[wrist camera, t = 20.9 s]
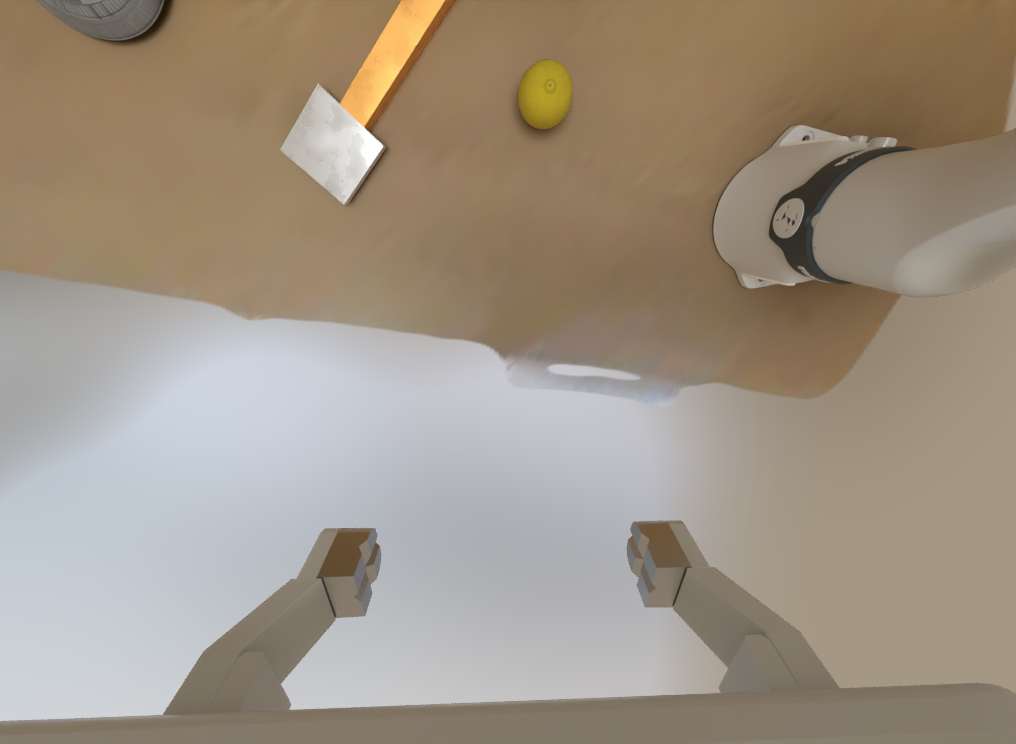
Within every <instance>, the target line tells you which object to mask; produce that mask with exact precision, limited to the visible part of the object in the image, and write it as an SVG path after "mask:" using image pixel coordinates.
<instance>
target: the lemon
mask: <svg viewBox="0 0 1016 744" xmlns="http://www.w3.org/2000/svg"><path fill="white" fill-rule="evenodd" d="M572 97H573V86H572V81H571V77H570V75H569V73H568V71H567V70H566V68H565V67H564V66H563V65H562V64H560V63H559V62H557V61H554V60H550V59H545V60H541V61H538V62H536V63H535V64H533V65H532V66H531V67H530V68H529V69H528V70H527V71H526V72H525V74H524V76H523V78H522V80H521V82H520V86H519V90H518V104H519V109H520V111H521V114H522V116H523V118H524V119H525V121H526V122H527V123H528V124H530V125H531V126H533V127H535V128H537V129H550V128H552V127H554V126H556V125H557V124H558V123H560V122H561V121H562V120H563V119H564V117H565V116H566V115H567V113H568V110H569V108H570V106H571V102H572Z"/></svg>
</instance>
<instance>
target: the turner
mask: <svg viewBox="0 0 1016 744" xmlns="http://www.w3.org/2000/svg"><path fill="white" fill-rule="evenodd" d="M454 2H455V0H402V1H401V2H400V4H399V6H398V7H397V9H396V11H395V12H394V14H393V16H392V17H391V19H390V21H389V22H388V24H387V26H386V27H385V29H384V31H383V32H382V34H381V36H380V37H379V39H378V41H377V42H376V44H375V46H374V47H373V49H372V51H371V52H370V54H369V56H368V57H367V59H366V61H365V62H364V64H363V66H362V67H361V69H360V71H359V72H358V74H357V76H356V77H355V79H354V81H353V82H352V84H351V86H350V87H349V89H348V91H347V92H346V94H345V96H344V97H343V99H342V101H341V102H340V103H339V102H338V101H337V100H336V99H335V98H334V97H333V96H332V95H331V94H330V93H329V92H328V91H327V90H326V89H325V88H324V87H323V86H321V85H319V84H317V86H316V88H315V90H314V91H313V93H312V95H311V97H310V99H309V100H308V102H307V104H306V106H305V107H304V109H303V111H302V113H301V114H300V116H299V118H298V120H297V121H296V123H295V125H294V127H293V128H292V130H291V132H290V134H289V135H288V137H287V139H286V141H285V142H284V144H283V146H282V148H281V149H280V150H281V151H282V152H283V153H284V154H286V155H287V156H288V157H289V158H290V159H291V160H293V161H294V162H295V163H296V164H297V165H298V166H300V167H301V168H302V169H303V170H304V171H305V172H307V173H308V174H309V175H310V176H311V177H312V178H314V179H315V180H316V181H317V182H318V183H319V184H321V185H322V186H323V187H324V188H325V189H326V190H328V191H329V192H330V193H331V194H332V195H333V196H335V197H336V198H337V199H338V200H339V201H340V202H342V203H343V204H344V205H348V204H349V202H350V201H351V199H352V198H353V196H354V195H355V193H356V192H357V190H358V189H359V187H360V186H361V185H362V183H363V182H364V180H365V179H366V177H367V176H368V174H369V173H370V171H371V170H372V168H373V167H374V165H375V164H376V162H377V161H378V159H379V158H380V156H381V155H382V153H383V152H384V150H385V149H386V147H385V146H384V145H383V144H382V143H381V142H380V141H379V140H378V139H377V138H376V137H375V136H374V135H373V134H372V133H371V132H370V131H371V130H372V128H373V127H374V125H375V124H376V122H377V121H378V119H379V117H380V116H381V114H382V113H383V111H384V110H385V108H386V107H387V105H388V104H389V102H390V100H391V99H392V97H393V96H394V94H395V93H396V91H397V90H398V88H399V87H400V85H401V83H402V82H403V80H404V79H405V77H406V76H407V74H408V73H409V71H410V70H411V68H412V66H413V65H414V63H415V62H416V60H417V59H418V57H419V56H420V54H421V53H422V51H423V49H424V48H425V46H426V45H427V43H428V42H429V40H430V39H431V37H432V36H433V34H434V32H435V31H436V29H437V28H438V26H439V25H440V23H441V22H442V20H443V19H444V17H445V15H446V14H447V12H448V11H449V9H450V8H451V6H452V5H453V3H454ZM369 130H370V131H369Z"/></svg>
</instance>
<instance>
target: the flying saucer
mask: <svg viewBox="0 0 1016 744" xmlns="http://www.w3.org/2000/svg"><path fill="white" fill-rule="evenodd" d="M37 1H38V2H39V3H40V4H41V5H43V6H44V7H45V8H46V9H47V10H48V11H49V12H51V13H52V14H53V15H54V16H56V17H57V18H59V19H60V20H61V21H63V22H64V23H66V24H68V25H69V26H71V27H73V28H74V29H76V30H78V31H80V32H83V33H85V34H87V35H90V36H93V37H96V38H100V39H105V40H116V41H117V40H127V39H131V38H134V37H136V36H139V35H140V34H142V33H144V32H145V31H146V30H148V29H149V28H150V27H151V26H152V25H153V23H154V22H155V21H156V19H157V17H158V16H159V14H160V12H161V9H162V7H163V4H164V0H37Z"/></svg>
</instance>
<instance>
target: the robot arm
mask: <svg viewBox="0 0 1016 744" xmlns="http://www.w3.org/2000/svg"><path fill="white" fill-rule="evenodd" d="M803 137H805V141H802V139H803ZM867 139H868V137H867V136H862V135H856V136H852V137H851V138H848V137H846V136H840V135H837V134H833V133H830V132H826V131H822V130H819V129H815V128H812V127H808V126H805V125H796V126H792V127H790V128H788V129H787V130H786V131H785V132H784V133H783V134H782V135H781V136H780V137H779V139H778V140H777V141H776V142H775V143H774V145H773V146H772V147H771V148H770V149H769V150H768V151H766V152H765V153H764V154H762V155H761V156H759V157H757V158H756V159H754V160H753V161H751V162H750V163H749V164H747V165H746V166H745V167H744V168H743V169H742V170H741V171H740V172H739V173H738V174H737V175H736V176H735V177H734V178H733V180H732V181H731V182H730V184H729V185H728V186H727V188H726V190H725V191H724V193H723V195H722V197H721V199H720V201H719V204H718V207H717V210H716V213H715V218H714V226H713V233H714V241H715V245H716V248H717V250H718V252H719V254H720V255H721V257H722V258H723V259H724V260H725V261H726V262H727V263H728V264H729V265H730V266H731V267H732V268H733V269H734V270H735V271H736V274H737V277H738V280H739V282H740V284H741V285H742V286H743V287H745V288H749V289H753V288H758V287H764V286H769V285H774V284H782V285H787V286H794V285H795V284H796V283H801V282H806V281H810V280H814V279H815V280H817V281H822V282H826V283H838V284H852V283H855V284H860V285H864V286H868V287H872V288H876V289H880V290H884V291H888V292H892V293H896V294H901V295H905V296H909V297H938V296H946V295H951V294H957V293H961V292H964V291H968V290H971V289H974V288H977V287H979V286H982V285H984V284H986V283H989V282H991V281H993V280H995V279H996V278H998V277H1000V276H1001V275H1003V274H1005V273H1007V272H1008V271H1010V270H1011V269H1012V268H1014V267H1016V129H1013V130H1011V131H1008V132H1005V133H1002V134H999V135H996V136H992V137H988V138H983V139H978V140H973V141H968V142H963V143H957V144H951V145H946V146H940V147H933V148H926V149H919V150H918V149H915V148H911V147H903V146H902V147H895V145H896V143H897V139H895V138H889V137H877V138H872V139H871V140H870V141H869V142H868V143H866V141H867ZM758 279H760V280H758ZM630 530H631V533H632V535H633V536H632V537H631V538H629V540H628V543H627V556H628V561H629V565H630V567H631V570H632V572H633V573H634V574H635V575H637V577H639V579H638V583H637V587H638V589H639V592H640V595H641V598H642V600H643V603H644V606H645V607H673V609H674V610H675V612H676V613H678V615H679V616H680V617H681V618H682V619H683V620H684V621H685V622H686V623H687V624H688V625H689V627H690V628H691V629H692V630H693V631H694V632H695V633H696V634H697V635H698V636H699V637H700V638H701V639H702V640H703V641H704V643H705V644H706V645H707V646H708V647H709V648H710V649H711V650H712V651H713V652H714V653H715V654H716V656H718V658H719V659H720V660H721V661H722V662H723V663H724V664H725V665H726V666H727V667H728V670H727V672H726V674H725V676H724V678H723V680H722V682H721V684H720V686H719V689H720V692H721V693H714V694H687V695H661V696H635V697H611V698H585V699H559V700H532V701H509V702H507V701H506V702H481V703H455V704H431V705H406V706H382V707H381V706H379V707H355V708H329V709H304V710H289V709H290V706H291V703H290V700H289V698H288V696H287V695H286V693H285V691H284V689H283V687H282V686H281V683H282V682H283V681H284V679H285V678H286V677H287V676H288V675H289V674H290V672H291V671H292V670H293V669H294V668H295V667H296V665H297V664H298V663H299V662H300V661H301V660H302V658H303V657H304V656H305V655H306V654H307V653H308V651H309V650H310V649H311V648H312V647H313V646H314V644H315V643H316V642H317V641H318V640H319V638H320V637H321V636H322V635H323V634H324V633H325V632H326V630H327V629H328V628H329V627H330V626H331V625H332V623H333V622H334V621H335V618H341V617H358V616H365V615H366V612H367V608H368V605H369V602H370V599H371V596H372V590H371V586H370V585H371V584H372V583H373V582H374V581H375V580H376V579H377V576H378V572H379V569H380V562H381V550H380V546H379V545H378V544H377V543H376V539H377V533H376V529H374V528H332V529H331V528H328V529H324V530H323V531H322V532H321V533H320V535H319V537H318V539H317V541H316V543H315V545H314V547H313V548H312V550H311V552H310V554H309V556H308V558H307V560H306V562H305V564H304V566H303V568H302V570H301V572H300V573H299V575H298V577H297V579H291V580H290V581H289V582H287V583H286V584H285V585H284V586H283V587H281V588H280V589H279V590H278V591H276V592H275V593H274V594H273V595H272V596H270V597H269V598H268V599H267V600H266V601H264V602H263V603H262V604H261V605H259V606H258V607H257V608H256V609H255V610H253V611H252V612H251V613H250V614H248V615H247V616H246V617H245V618H244V619H242V620H241V621H240V622H239V623H238V624H236V625H235V626H234V627H233V628H231V629H230V630H229V631H228V632H227V633H225V634H224V635H223V636H222V637H220V638H219V639H218V640H217V641H216V642H215V643H213V644H212V645H211V646H210V647H208V648H207V649H206V650H205V651H204V652H203V653H202V655H201V656H200V658H199V659H198V661H197V662H196V664H195V666H194V667H193V669H192V670H191V672H190V673H189V675H188V676H187V678H186V679H185V681H184V683H183V684H182V686H181V687H180V689H179V690H178V692H177V693H176V695H175V697H174V698H173V700H172V701H171V703H170V704H169V706H168V707H167V709H166V711H165V712H164V714H163V715H154V716H153V715H152V716H130V717H129V716H127V717H102V718H76V719H49V720H19V721H0V744H1016V694H1015V693H1014V692H1012V691H1010V690H1008V689H1005V688H1003V687H1000V686H997V685H993V684H985V683H964V684H940V685H915V686H889V687H864V688H839V687H838V685H837V684H836V682H835V681H834V679H833V678H832V677H831V675H830V674H829V672H828V671H827V670H826V668H825V667H824V665H823V664H822V662H821V661H820V660H819V658H818V657H817V655H816V654H815V652H814V651H813V649H812V648H811V647H810V645H809V644H808V642H807V641H806V640H805V638H804V637H803V635H802V634H801V632H800V631H798V630H797V629H796V628H794V627H793V626H792V625H790V624H789V623H788V622H786V621H785V620H784V619H782V618H781V617H780V616H779V615H777V614H776V613H775V612H773V611H772V610H771V609H769V608H768V607H767V606H765V605H764V604H762V603H761V602H760V601H759V600H757V599H756V598H755V597H753V596H752V595H751V594H749V593H748V592H747V591H745V590H744V589H743V588H741V587H740V586H739V585H737V584H736V583H735V582H734V581H732V580H731V579H730V578H728V577H727V576H725V575H724V574H723V573H721V572H720V571H719V570H718V569H716V568H715V567H709V565H708V563H707V561H706V560H705V558H704V556H703V555H702V553H701V551H700V550H699V548H698V546H697V545H696V543H695V541H694V539H693V538H692V536H691V534H690V533H689V531H688V529H687V528H686V526H685V524H684V523H683V522H682V521H639V522H633V523H632V525H631V529H630Z"/></svg>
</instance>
